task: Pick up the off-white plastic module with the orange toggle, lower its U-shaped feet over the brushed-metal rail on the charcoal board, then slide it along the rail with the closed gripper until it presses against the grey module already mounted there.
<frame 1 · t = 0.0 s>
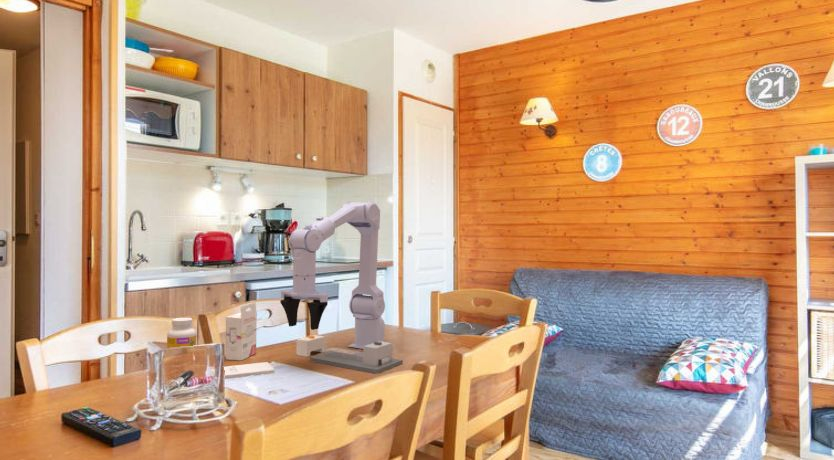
hand: (303, 327, 141), 10 cm above the table, tool pointing down, fingers open, 7 cm apart
din rail: (356, 355, 146), on the mounting board, point 1 cm above the table
supplement bottle: (181, 371, 136), on the table
installed module: (377, 352, 143), on the mounting board, point 4 cm above the table
din module: (310, 353, 156), on the table
ink cartridge box: (240, 357, 151), on the table
mounting board: (356, 362, 146), on the table
external hard drive: (245, 374, 135), on the table
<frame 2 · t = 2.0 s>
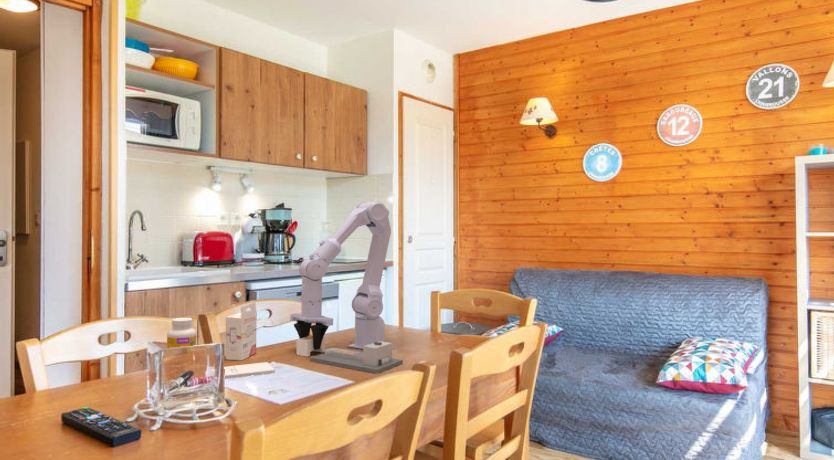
hand: (310, 348, 156), 1 cm above the table, tool pointing down, fingers closed on din module, 4 cm apart
din module: (310, 353, 156), on the table, touching gripper
everything else where it was.
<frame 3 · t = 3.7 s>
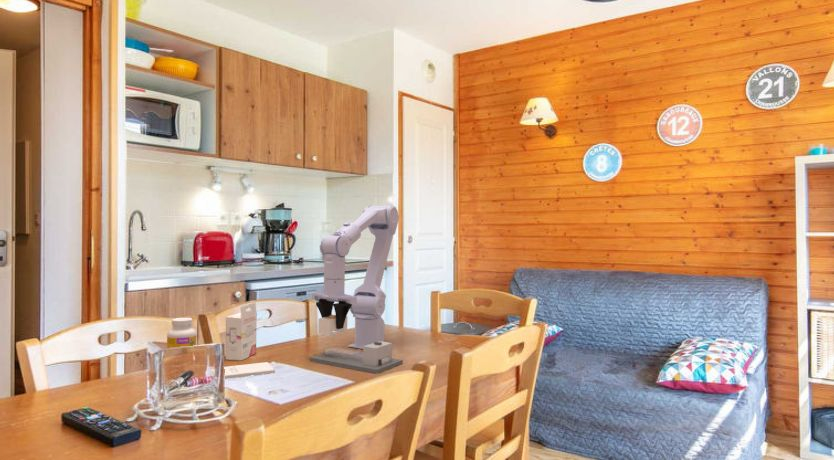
hand: (333, 327, 151), 8 cm above the table, tool pointing down, fingers closed on din module, 4 cm apart
din module: (332, 333, 151), point 7 cm above the table, touching gripper
everything else where it was.
when the fingers open (4 cm above the table, at t = 5.7 s): din module stays where it is, resting on din rail.
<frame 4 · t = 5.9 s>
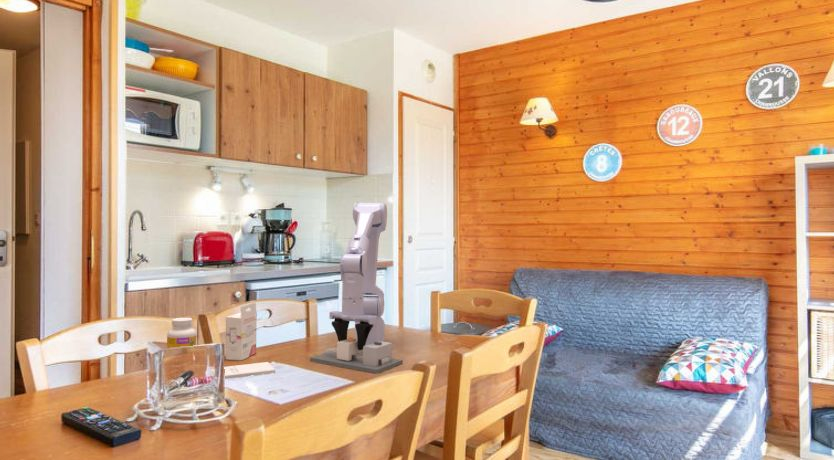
hand: (352, 347, 147), 4 cm above the table, tool pointing down, fingers open, 6 cm apart
din module: (351, 356, 147), point 1 cm above the table, touching din rail
everything else where it was.
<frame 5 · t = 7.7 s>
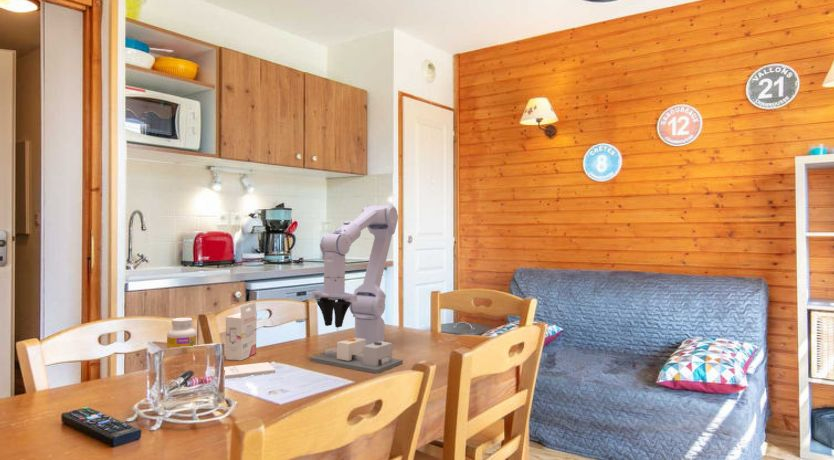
hand: (333, 326, 150), 9 cm above the table, tool pointing down, fingers open, 3 cm apart
nothing on the table moved.
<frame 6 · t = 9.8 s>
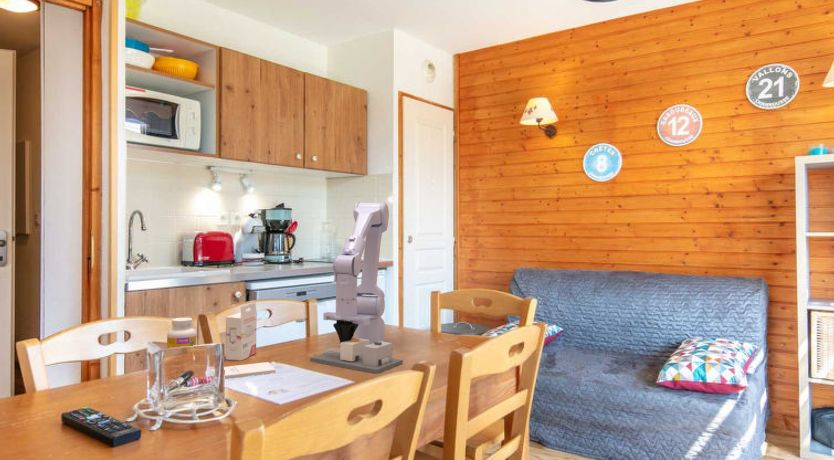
hand: (345, 348, 148), 3 cm above the table, tool pointing down, fingers closed
din module: (354, 357, 146), point 1 cm above the table, touching din rail, gripper
everything else where it was.
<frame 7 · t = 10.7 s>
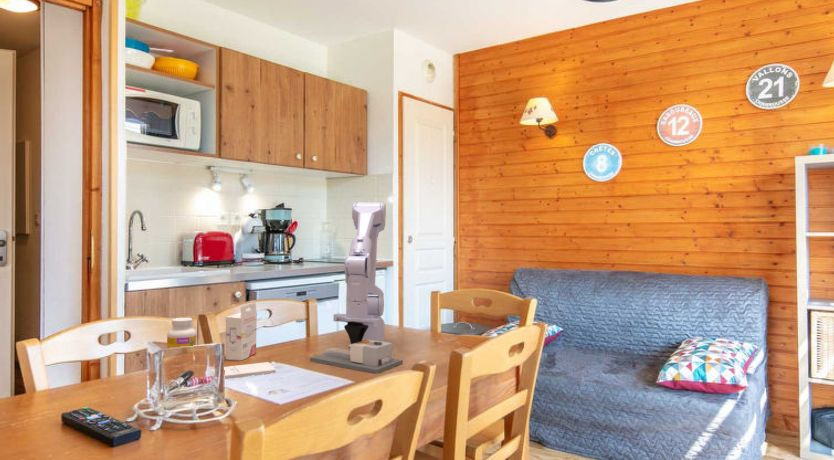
hand: (356, 350, 146), 3 cm above the table, tool pointing down, fingers closed
din module: (364, 359, 145), point 1 cm above the table, touching din rail, gripper, installed module
everything else where it was.
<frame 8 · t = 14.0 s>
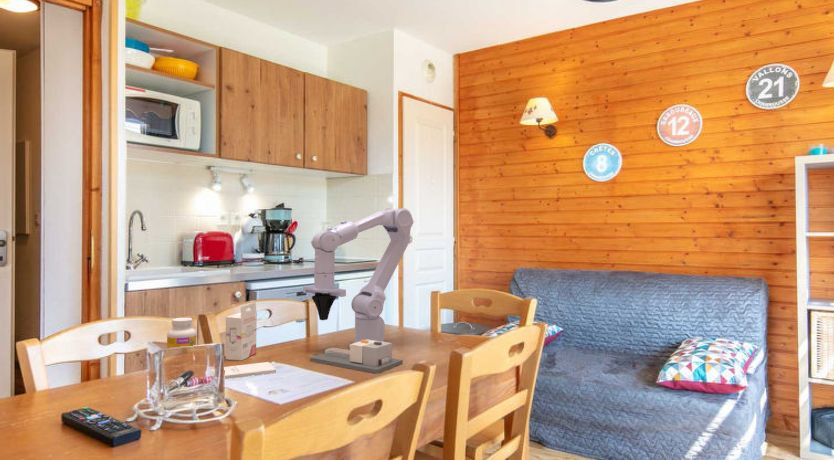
hand: (323, 319, 157), 9 cm above the table, tool pointing down, fingers closed
din module: (364, 359, 145), point 1 cm above the table, touching din rail
everything else where it was.
at the end: din module 0.2 cm from the target spot on the din rail, point 1.3 cm above the din rail's base; din module tilted 0°; the gripper is holding nothing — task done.
